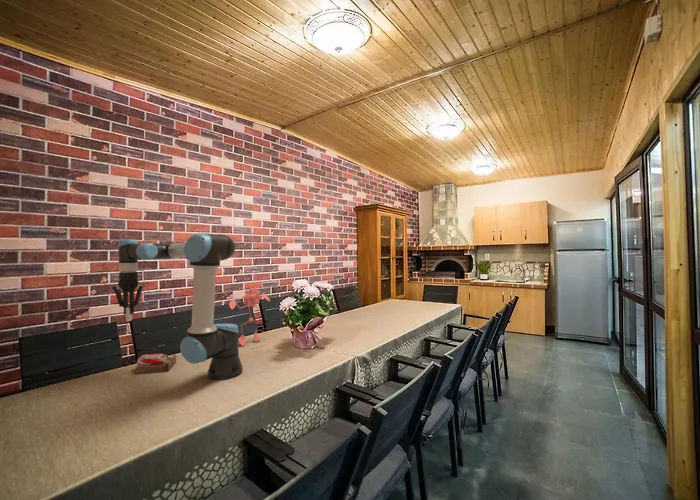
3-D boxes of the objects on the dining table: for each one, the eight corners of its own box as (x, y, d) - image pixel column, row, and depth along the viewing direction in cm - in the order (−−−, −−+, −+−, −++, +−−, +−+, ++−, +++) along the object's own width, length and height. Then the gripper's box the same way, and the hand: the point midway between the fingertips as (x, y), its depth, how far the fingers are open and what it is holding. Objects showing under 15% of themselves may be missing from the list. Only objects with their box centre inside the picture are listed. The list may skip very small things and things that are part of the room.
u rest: (168, 371, 153) (168, 363, 153) (135, 374, 150) (135, 365, 150) (176, 362, 165) (176, 355, 165) (145, 365, 161) (145, 357, 161)
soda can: (134, 369, 151) (162, 367, 153) (137, 353, 154) (164, 352, 156) (140, 370, 157) (167, 369, 159) (143, 355, 160) (169, 354, 162)
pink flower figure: (226, 347, 190) (226, 288, 190) (263, 338, 210) (264, 284, 209) (239, 353, 180) (240, 291, 180) (277, 343, 199) (278, 287, 199)
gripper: (146, 270, 159) (147, 318, 159) (116, 271, 157) (117, 319, 157) (140, 271, 152) (141, 321, 152) (109, 272, 149) (109, 323, 149)
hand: (129, 320), depth 154 cm, fingers closed
